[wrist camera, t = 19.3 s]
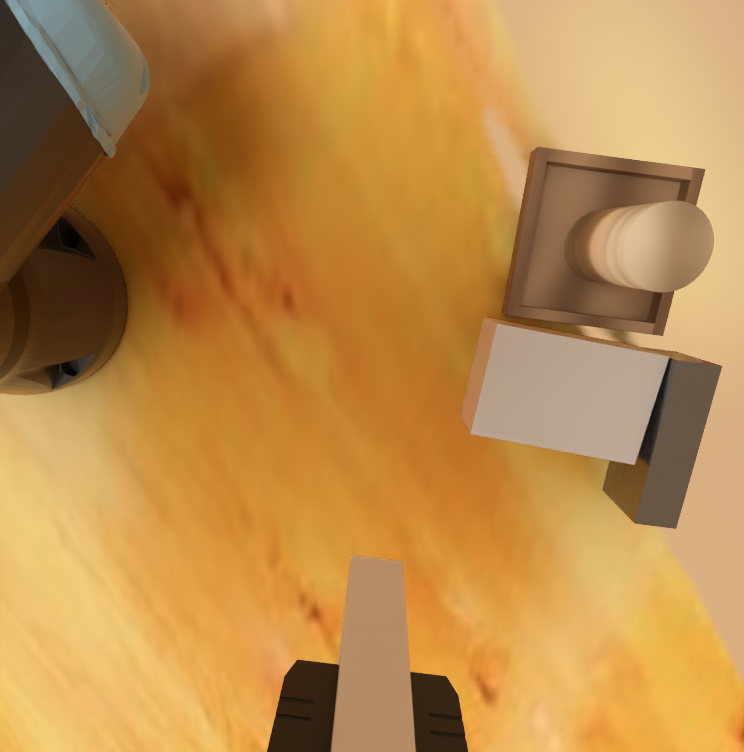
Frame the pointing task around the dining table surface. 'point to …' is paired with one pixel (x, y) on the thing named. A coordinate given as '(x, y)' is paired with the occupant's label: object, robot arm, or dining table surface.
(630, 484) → the block
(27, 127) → the robot arm
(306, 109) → the dining table surface
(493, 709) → the dining table surface
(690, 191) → the tray
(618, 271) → the roller
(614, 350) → the slab
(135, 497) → the dining table surface
